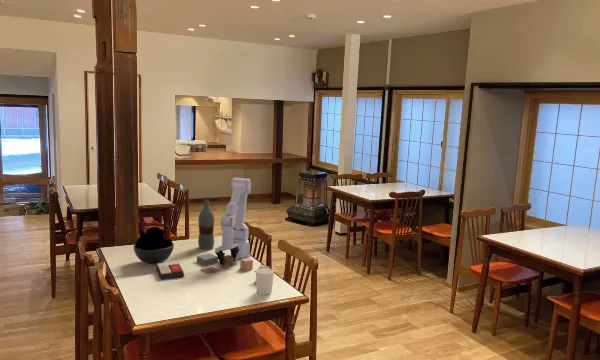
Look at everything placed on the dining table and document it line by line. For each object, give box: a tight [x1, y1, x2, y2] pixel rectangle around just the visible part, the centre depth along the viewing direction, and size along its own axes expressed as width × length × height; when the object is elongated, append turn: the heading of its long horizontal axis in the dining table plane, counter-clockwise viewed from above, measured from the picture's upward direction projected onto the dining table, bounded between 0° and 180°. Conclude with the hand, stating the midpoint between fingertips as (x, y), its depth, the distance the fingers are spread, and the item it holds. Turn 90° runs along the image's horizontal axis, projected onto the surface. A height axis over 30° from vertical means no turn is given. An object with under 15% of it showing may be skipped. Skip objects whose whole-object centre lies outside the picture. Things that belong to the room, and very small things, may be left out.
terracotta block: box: [239, 257, 254, 272], centre depth 244 cm, size 4×4×5 cm
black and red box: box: [155, 260, 185, 281], centre depth 233 cm, size 11×4×15 cm
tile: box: [200, 265, 221, 274], centre depth 240 cm, size 7×7×1 cm
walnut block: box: [220, 254, 234, 269], centre depth 248 cm, size 4×4×5 cm
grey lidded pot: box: [254, 263, 275, 276], centre depth 228 cm, size 9×8×10 cm
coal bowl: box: [133, 226, 175, 265], centre depth 246 cm, size 20×20×19 cm
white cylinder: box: [255, 268, 275, 296], centre depth 213 cm, size 8×8×10 cm
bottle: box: [197, 196, 215, 251], centre depth 276 cm, size 9×9×30 cm
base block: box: [196, 253, 219, 266], centre depth 252 cm, size 8×8×4 cm
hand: (227, 263), depth 248 cm, fingers open, 7 cm apart
